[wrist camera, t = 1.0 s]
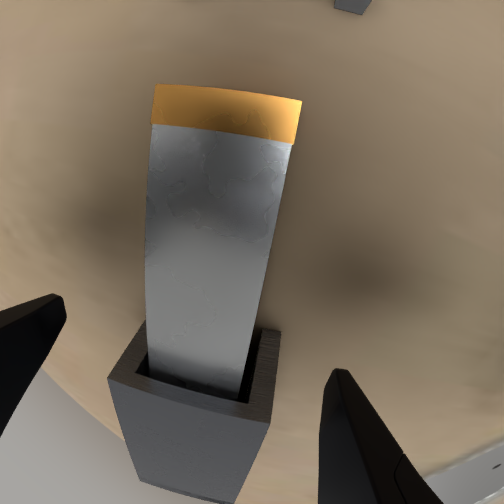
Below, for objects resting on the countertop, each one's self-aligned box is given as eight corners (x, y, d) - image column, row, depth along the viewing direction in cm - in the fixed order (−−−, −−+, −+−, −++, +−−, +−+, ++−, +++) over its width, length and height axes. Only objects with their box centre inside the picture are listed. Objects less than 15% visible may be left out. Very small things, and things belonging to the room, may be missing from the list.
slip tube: (300, 107, 11) (301, 101, 7) (229, 432, 21) (218, 480, 17) (201, 92, 12) (155, 83, 8) (178, 419, 21) (161, 465, 17)
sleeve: (280, 332, 16) (270, 423, 11) (245, 444, 22) (232, 506, 17) (157, 302, 17) (107, 377, 11) (163, 423, 22) (140, 480, 17)
